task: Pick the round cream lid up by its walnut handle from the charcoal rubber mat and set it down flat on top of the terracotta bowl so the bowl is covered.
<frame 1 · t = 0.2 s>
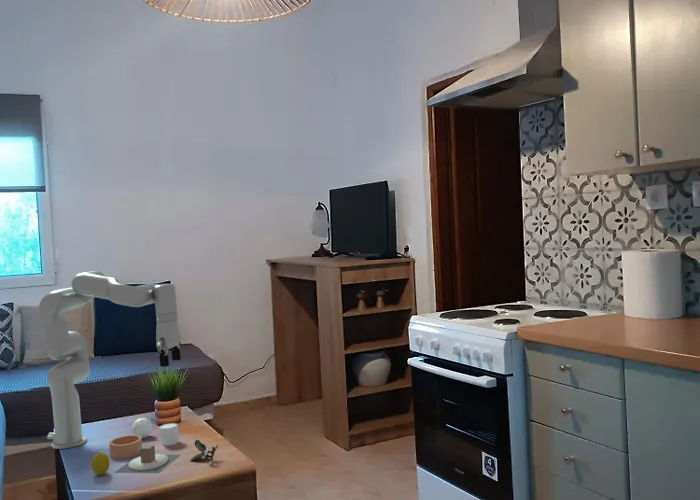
hand: (170, 363, 236), 31 cm above the table, tool pointing down, fingers open, 9 cm apart
mat: (148, 464, 219), on the table
eagle figurine: (202, 460, 221), on the table
bowl: (126, 453, 231), on the table
lemon: (101, 476, 212), on the table
lid: (148, 463, 219), resting on mat
geometric ball: (142, 438, 249), on the table
shot glass: (170, 444, 239), on the table
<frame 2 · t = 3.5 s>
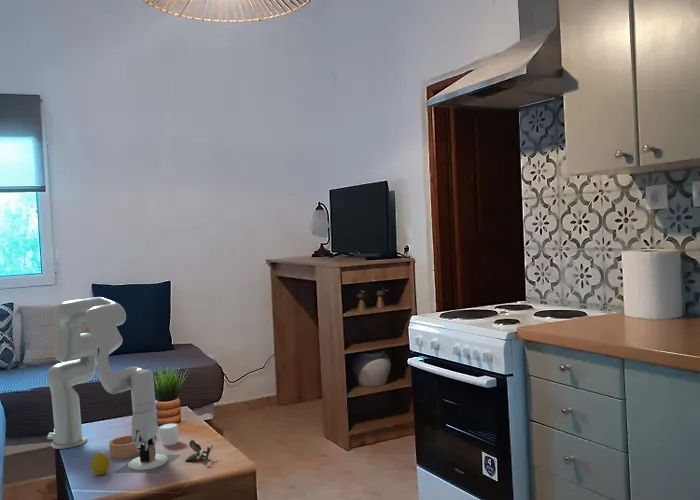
hand: (148, 458, 219), 2 cm above the table, tool pointing down, fingers closed on lid, 3 cm apart
eagle figurine: (197, 460, 221), on the table
lid: (148, 463, 219), point 1 cm above the table, touching gripper
everything else where it was.
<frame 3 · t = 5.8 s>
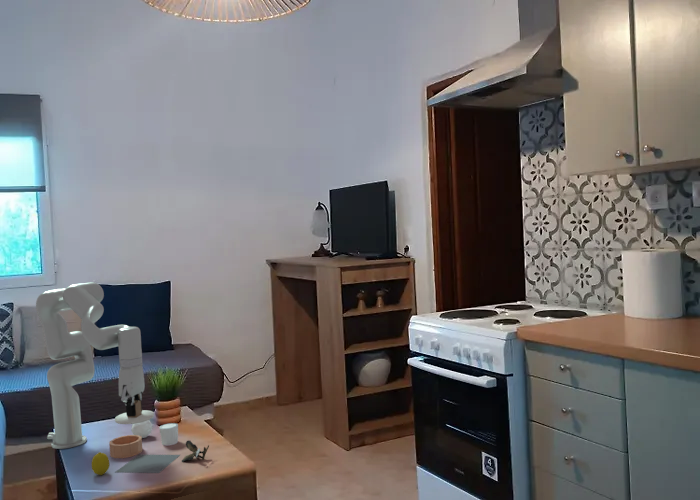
hand: (134, 413, 224), 16 cm above the table, tool pointing down, fingers closed on lid, 3 cm apart
eagle figurine: (194, 461, 221), on the table
lid: (134, 418, 224), point 15 cm above the table, touching gripper
everything else where it was.
when the fingers open (8 cm above the table, at t = 8.4 s): lid drops 2 cm, resting on bowl.
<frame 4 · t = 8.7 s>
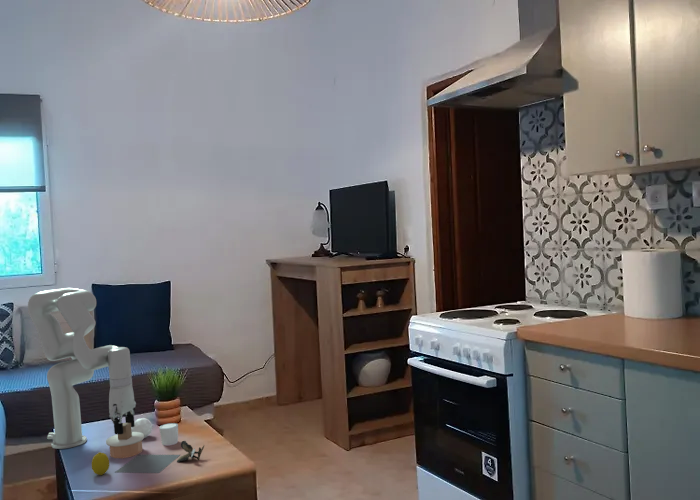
hand: (124, 430, 231), 9 cm above the table, tool pointing down, fingers open, 7 cm apart
eagle figurine: (189, 461, 221), on the table
lid: (125, 440, 231), point 5 cm above the table, touching bowl
everything else where it was.
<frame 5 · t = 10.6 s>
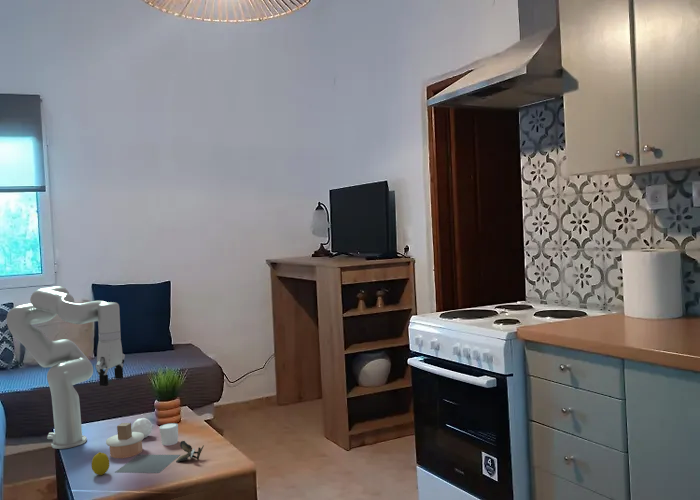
hand: (111, 381, 236), 25 cm above the table, tool pointing down, fingers open, 9 cm apart
nothing on the table moved.
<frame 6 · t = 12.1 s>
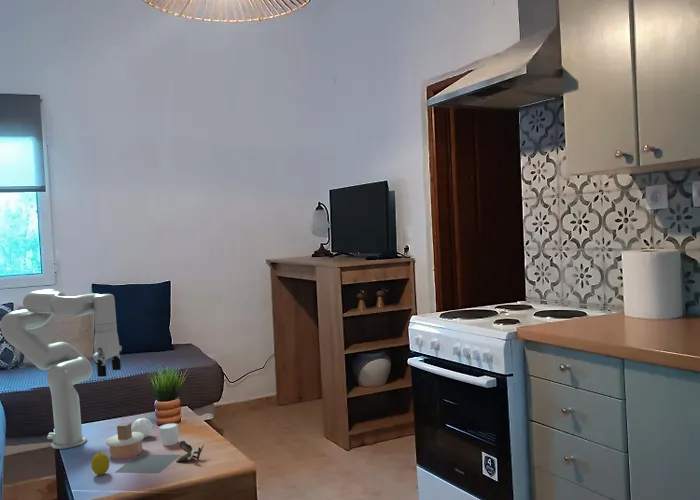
hand: (109, 373, 238), 28 cm above the table, tool pointing down, fingers open, 9 cm apart
nothing on the table moved.
at the end: lid 0.1 cm off-centre on the bowl, point 5.0 cm above the bowl's base; lid tilted 0°; the gripper is holding nothing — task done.
